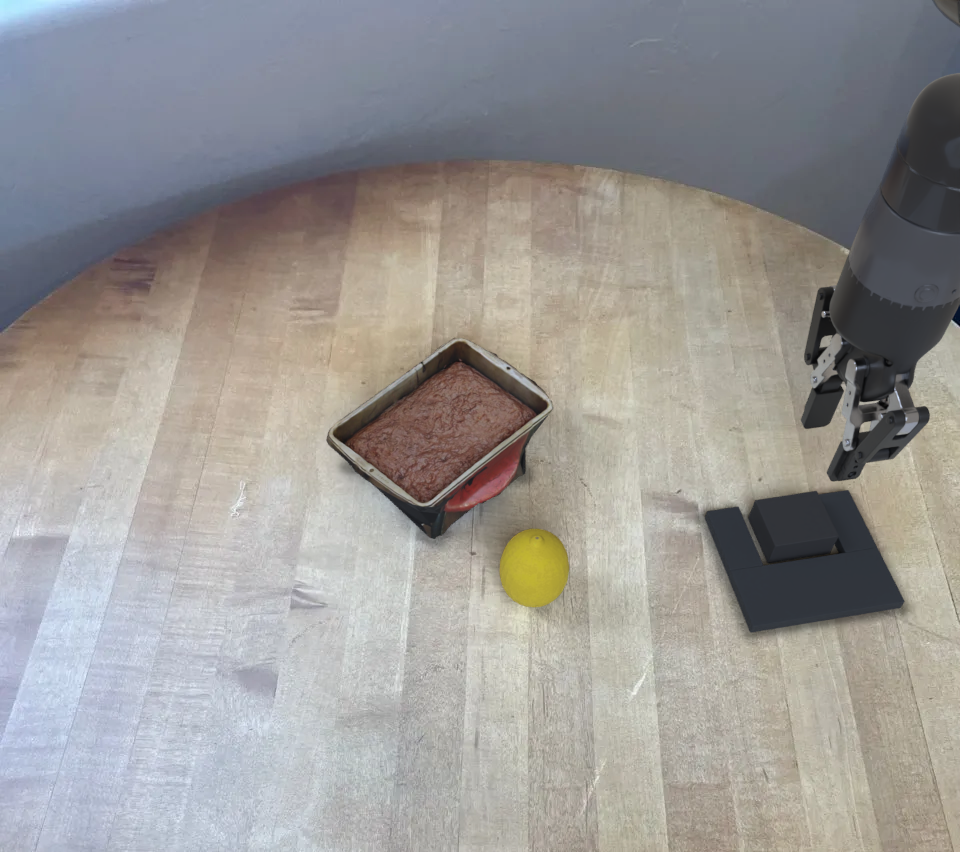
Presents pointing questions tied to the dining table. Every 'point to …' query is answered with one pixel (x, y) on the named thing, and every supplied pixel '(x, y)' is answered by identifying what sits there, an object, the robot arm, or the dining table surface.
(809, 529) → the black block
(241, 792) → the dining table surface
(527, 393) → the baking dish
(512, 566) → the lemon
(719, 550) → the charcoal pad
